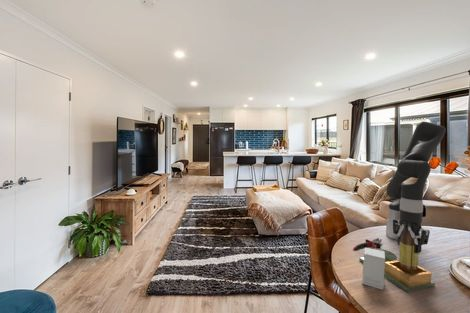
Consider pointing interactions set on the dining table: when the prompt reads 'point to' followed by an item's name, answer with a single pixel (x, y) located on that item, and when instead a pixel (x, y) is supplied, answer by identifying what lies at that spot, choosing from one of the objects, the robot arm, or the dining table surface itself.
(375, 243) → the pliers
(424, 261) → the dining table surface
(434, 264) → the dining table surface
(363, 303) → the dining table surface
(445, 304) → the dining table surface
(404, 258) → the sauce bottle
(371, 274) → the supplement box
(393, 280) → the chute mount
